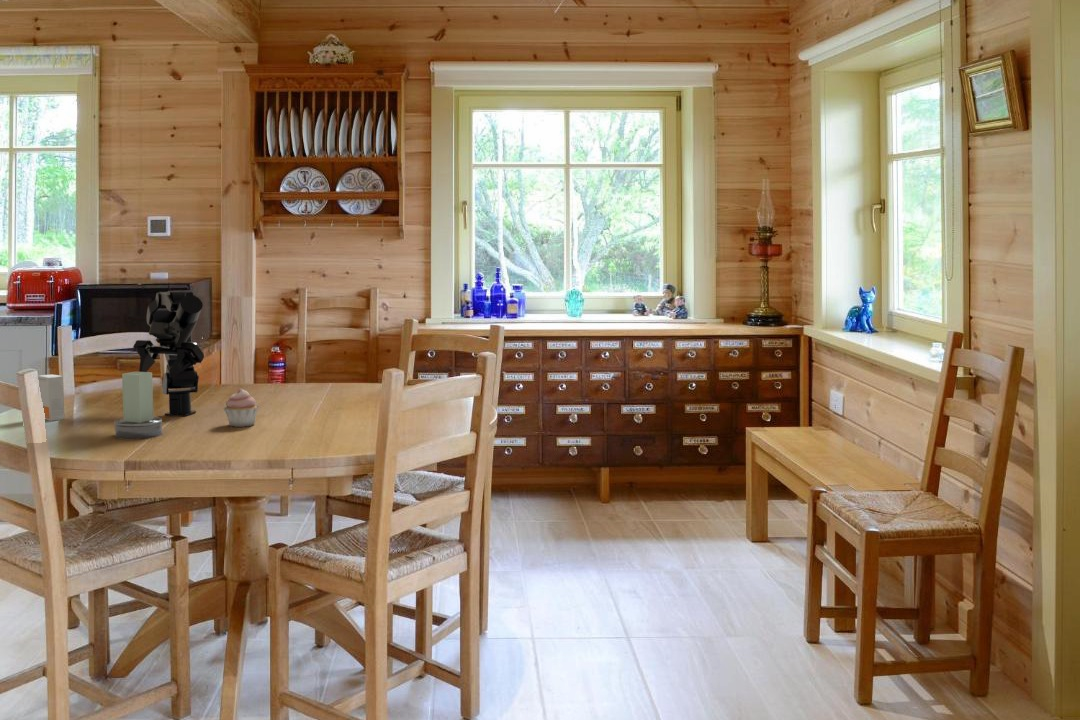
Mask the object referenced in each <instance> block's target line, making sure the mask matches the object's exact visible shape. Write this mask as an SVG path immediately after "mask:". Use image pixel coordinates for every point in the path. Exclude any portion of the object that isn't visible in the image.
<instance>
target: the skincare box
mask: <svg viewBox="0 0 1080 720" xmlns="http://www.w3.org/2000/svg"><path fill="white" fill-rule="evenodd" d="M38 380H39V387H40V392H41V398H42V402H43V408H44V413H45V418H46V419H45V420H46V421H49V422H55V421H62V420H65V419H66V417H65V416H66V413H65V393H64V376H63V375H59V374H53V373H52V374H40V375H37V381H38ZM39 387H38V388H39Z"/></svg>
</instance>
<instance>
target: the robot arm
mask: <svg viewBox="0 0 1080 720" xmlns="http://www.w3.org/2000/svg"><path fill="white" fill-rule="evenodd" d="M203 306H204V305H203V301H202V300H201V299H200V298H199V297H198V296H196V294H194V292H193V290H191V289H189V290H168V291H159V292H156V294H155V298H154V299H153V301H151V302H150V303H149V304H148V306H147V310H146V324H147V325H148V327H150V328H149V332H148V335H150V336H153V337H154V338H156V339H155V341H156V342H157V343H158V344H159V345H155V344H154V343H153V342H152V341H151V339H150V340H149V339H148V340H147V339H138V340H135V342H134V343H133V346H132V348H133V349H134V351H136V353H137V354H138V356H140V358H139V359H140V360H139V369H138V372H149V370H150V369H151V367H152V366H153V365H154V364H155V363H156V360H157V358H158V357H159V354H162V355H163V354H164V358H165V360H166V368H165V373H164V375H163V379H162V383H161V389H162V394H164V395H168V408H169V409H168V410H169V411H168V412H164V416H174V417H176V416H179V417H186V416H190V415H192V414H195V413H197V410H192V398H191V396H192V395H191V394H192V393H194V394H195V393H196V394H197V393H198V391H199V390H198V389H199V388H198V386H199V380H200V376H199V375H198V372H197V371H196V370H195V365H197V364H201V363H202V362H203V359H204V358H205V353H204V351H203V350H202V349H201V347H200V346H199V345H198V343H197V342H193V341H192V340H191V338H190V336H191V335H192V332H193V331H194V329H195V328H196V326H197V323H198V320H199V317H200V315H201V312H202V309H203ZM160 307H166V308H160ZM191 341H192V342H191Z"/></svg>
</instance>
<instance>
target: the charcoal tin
mask: <svg viewBox="0 0 1080 720" xmlns="http://www.w3.org/2000/svg"><path fill="white" fill-rule="evenodd" d="M113 423H114V436H115V438H117V439H120V440H145V439H151V438H152V437H153V438H157V437H160V436H162V435H163V419H162V417H158V416H157V417H156V416H153V420H149V421H145V422H141V423H139V422H126V421H124V419H123V418H119V419H115V420H114V421H113Z"/></svg>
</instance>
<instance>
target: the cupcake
mask: <svg viewBox="0 0 1080 720" xmlns="http://www.w3.org/2000/svg"><path fill="white" fill-rule="evenodd" d="M228 398H229V399H227V400H226V401H225V406H224V407H223V408H222V409H223V411H224V413H225V414H226V417H227V420H228V424H229V426H230V427H233V426H234V427H235V428H245V426H247V427H252V426H254V424H255V422H256V416H257V413H258V410H259V408H260V406H258V405H256V404H257V403H256V399H255V398H254V397H252V396H251V395H250V393H249V392H248V391H247V390H246V389H243V388H240V387H239V388H238V390H237V393H233V394H231V395H230V397H228ZM234 427H233V428H234Z"/></svg>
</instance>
